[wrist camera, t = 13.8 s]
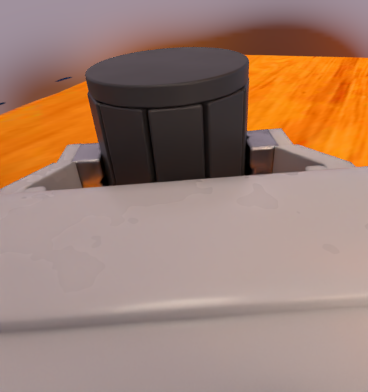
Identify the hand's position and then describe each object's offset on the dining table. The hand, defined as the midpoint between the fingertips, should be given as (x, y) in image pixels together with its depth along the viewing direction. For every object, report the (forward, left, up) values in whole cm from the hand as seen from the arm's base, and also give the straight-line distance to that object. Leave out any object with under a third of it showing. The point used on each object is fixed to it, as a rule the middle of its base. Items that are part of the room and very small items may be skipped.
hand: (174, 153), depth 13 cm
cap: (+1, -1, -4) cm, 4 cm away
